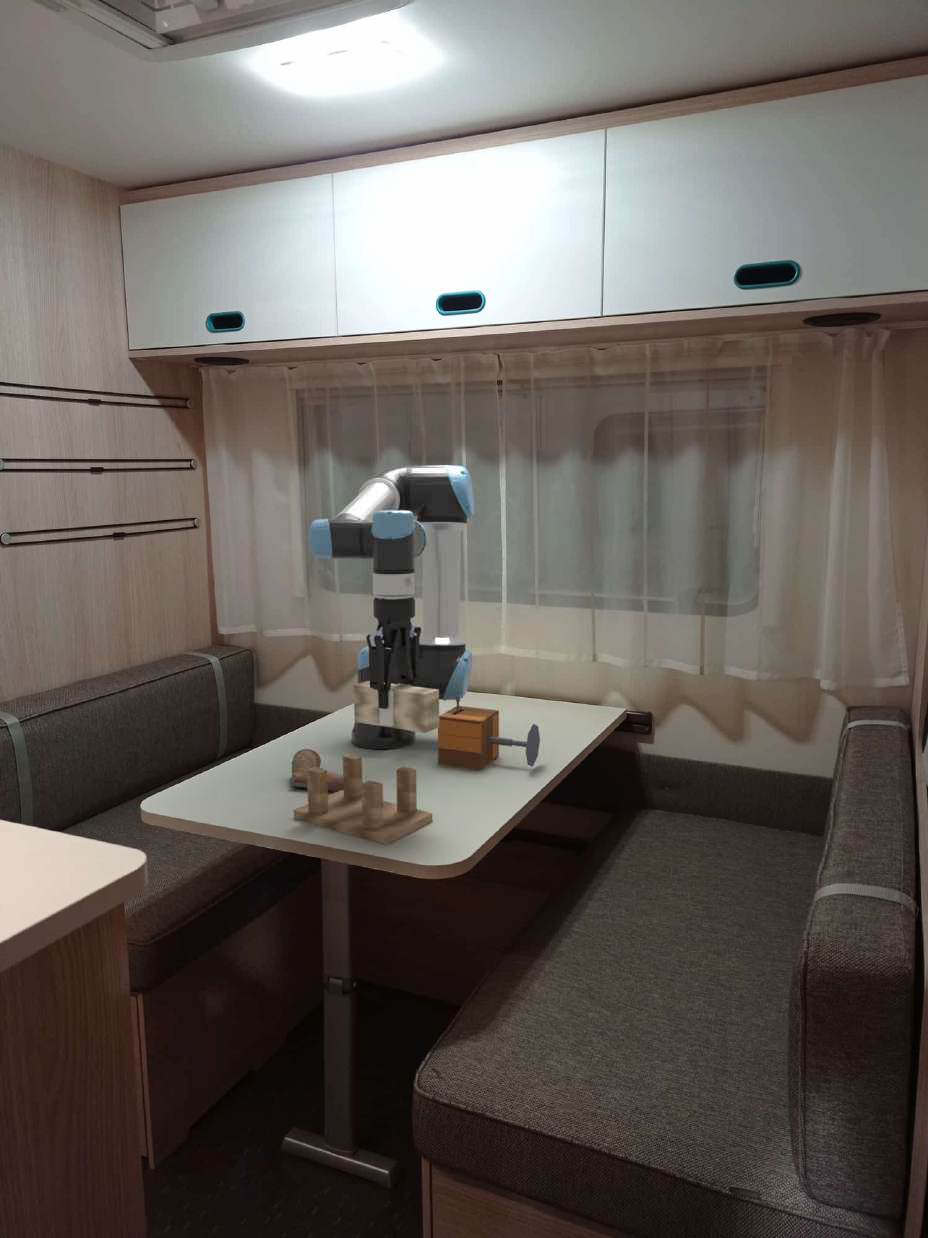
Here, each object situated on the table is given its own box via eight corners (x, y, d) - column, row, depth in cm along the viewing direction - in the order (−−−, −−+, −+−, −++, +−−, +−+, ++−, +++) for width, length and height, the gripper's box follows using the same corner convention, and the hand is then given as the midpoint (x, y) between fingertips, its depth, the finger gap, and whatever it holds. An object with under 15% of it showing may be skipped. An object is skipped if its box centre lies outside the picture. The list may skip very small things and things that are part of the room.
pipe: (348, 775, 174) (368, 752, 183) (272, 766, 179) (295, 745, 188) (351, 804, 176) (371, 780, 185) (276, 795, 181) (298, 772, 190)
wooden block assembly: (293, 817, 164) (292, 768, 163) (341, 797, 175) (340, 750, 173) (386, 845, 152) (385, 791, 150) (432, 821, 162) (432, 770, 161)
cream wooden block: (354, 721, 167) (353, 685, 166) (369, 716, 171) (368, 680, 170) (425, 733, 159) (424, 694, 158) (439, 727, 163) (438, 689, 162)
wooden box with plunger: (524, 777, 187) (524, 710, 185) (438, 765, 195) (437, 701, 193) (540, 762, 197) (541, 699, 194) (458, 751, 205) (457, 690, 202)
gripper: (380, 602, 152) (382, 735, 155) (438, 592, 167) (439, 714, 170) (346, 599, 156) (348, 729, 159) (406, 590, 171) (407, 709, 174)
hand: (395, 721), depth 165 cm, fingers closed on cream wooden block, 5 cm apart
